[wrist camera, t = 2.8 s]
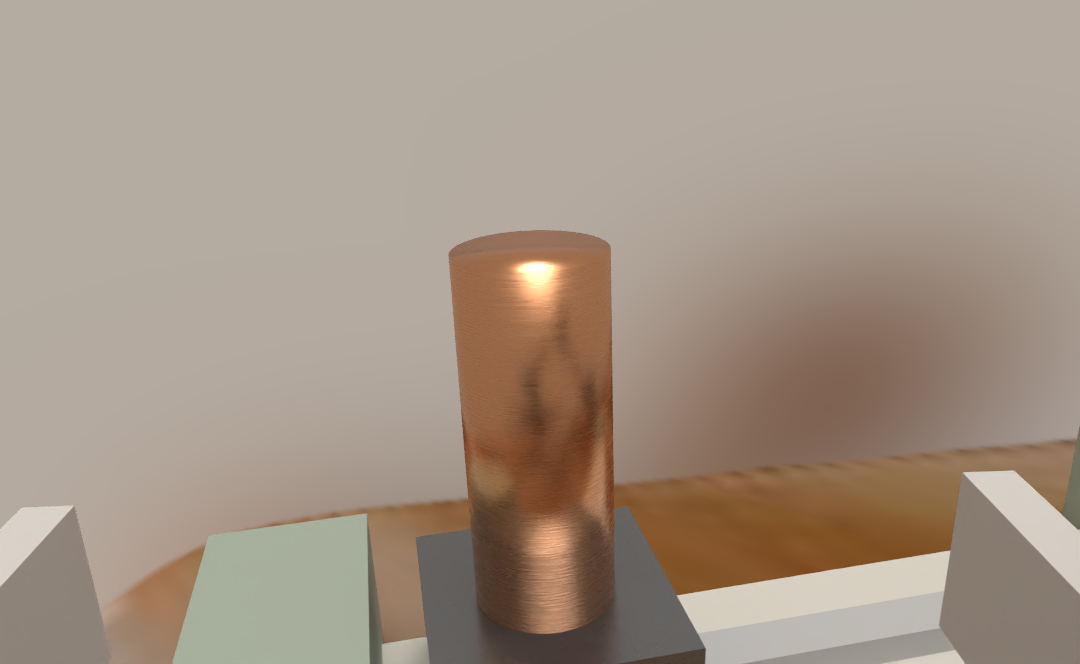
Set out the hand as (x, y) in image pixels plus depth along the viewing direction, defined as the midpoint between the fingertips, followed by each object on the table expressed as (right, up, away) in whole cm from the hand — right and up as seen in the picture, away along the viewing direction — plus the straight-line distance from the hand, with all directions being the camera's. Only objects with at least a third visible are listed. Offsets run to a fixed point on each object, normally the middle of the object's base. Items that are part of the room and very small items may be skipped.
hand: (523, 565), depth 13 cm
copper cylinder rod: (+1, -7, +13) cm, 15 cm away
